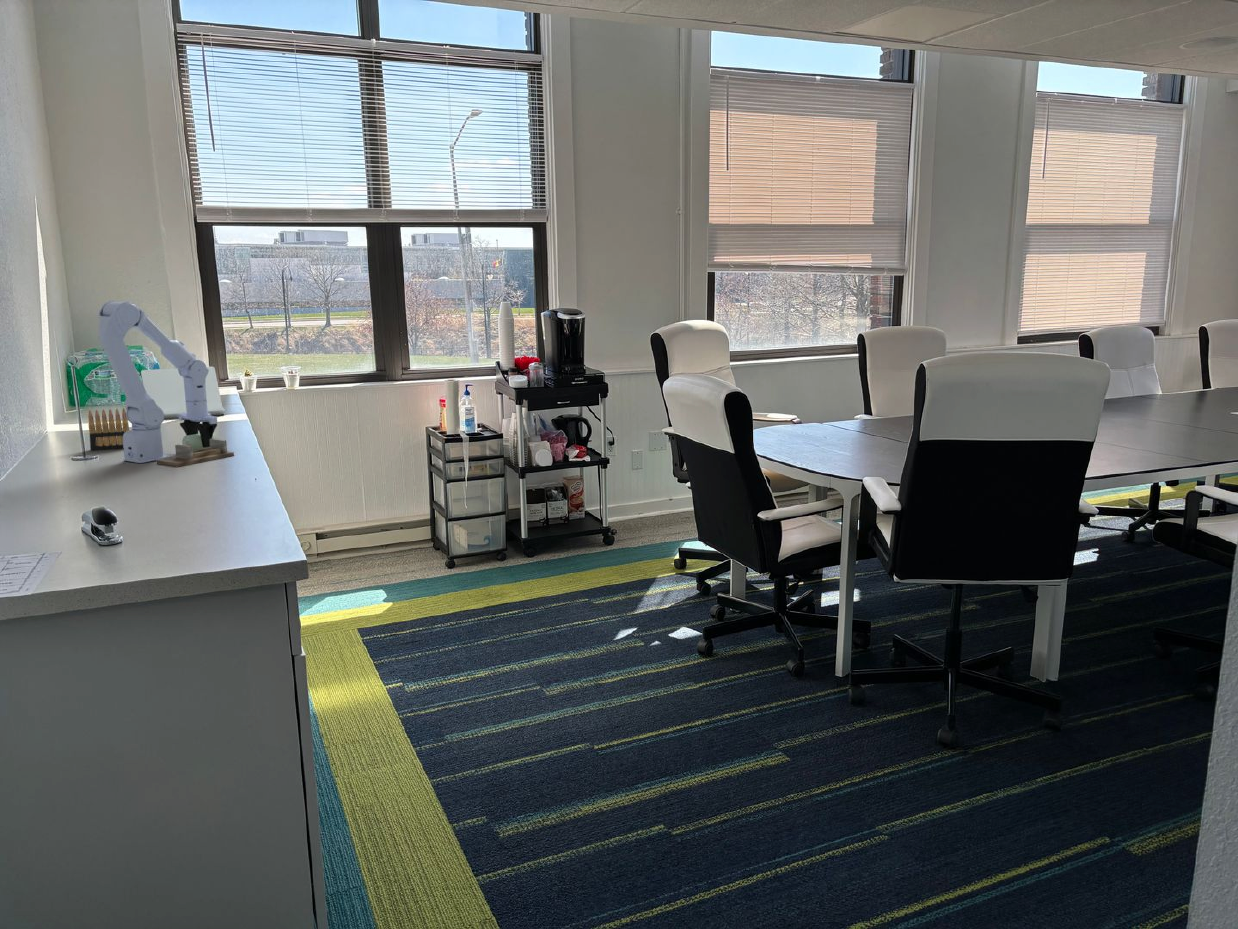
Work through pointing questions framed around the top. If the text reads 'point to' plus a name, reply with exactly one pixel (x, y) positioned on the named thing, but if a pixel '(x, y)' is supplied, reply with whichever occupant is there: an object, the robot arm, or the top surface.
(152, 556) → the top surface
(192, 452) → the holder
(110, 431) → the ammunition clip
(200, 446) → the roll
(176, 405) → the tablet stand
